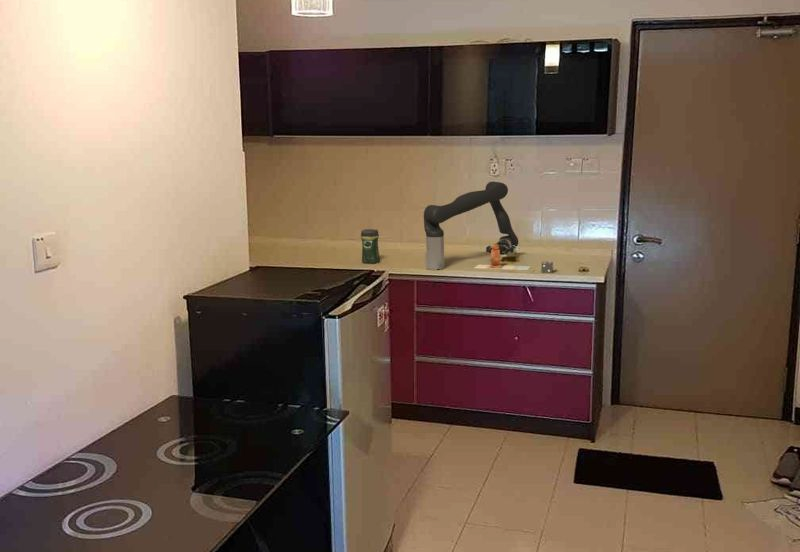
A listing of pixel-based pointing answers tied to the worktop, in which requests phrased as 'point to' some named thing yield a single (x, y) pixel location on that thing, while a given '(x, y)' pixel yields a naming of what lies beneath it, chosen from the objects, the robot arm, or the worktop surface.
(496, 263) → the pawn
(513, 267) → the board
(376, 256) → the coffee jar
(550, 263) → the die
